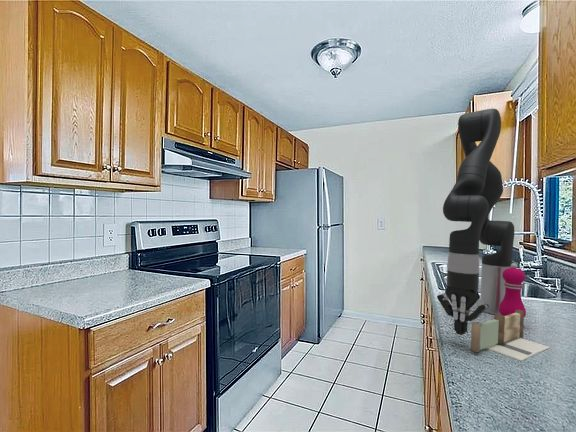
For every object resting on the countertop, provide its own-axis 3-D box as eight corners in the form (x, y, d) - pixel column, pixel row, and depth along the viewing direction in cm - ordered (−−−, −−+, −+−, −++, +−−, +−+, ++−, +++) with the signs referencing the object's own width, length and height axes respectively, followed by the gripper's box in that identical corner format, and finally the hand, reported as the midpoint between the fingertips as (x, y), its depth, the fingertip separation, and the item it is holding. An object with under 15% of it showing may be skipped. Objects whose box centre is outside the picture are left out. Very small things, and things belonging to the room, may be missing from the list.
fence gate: (491, 341, 88) (492, 316, 88) (499, 343, 86) (500, 318, 86) (469, 349, 82) (470, 322, 82) (477, 352, 81) (478, 325, 81)
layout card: (501, 332, 97) (501, 331, 97) (549, 348, 87) (549, 346, 87) (471, 343, 88) (471, 341, 88) (521, 361, 78) (521, 359, 78)
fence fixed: (515, 334, 96) (516, 308, 96) (524, 337, 94) (526, 310, 94) (491, 343, 89) (492, 315, 88) (500, 346, 86) (502, 317, 86)
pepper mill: (517, 330, 99) (520, 265, 99) (493, 322, 106) (495, 262, 105) (530, 327, 103) (532, 264, 102) (506, 319, 109) (508, 260, 109)
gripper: (496, 272, 84) (493, 339, 84) (445, 264, 94) (442, 323, 94) (484, 275, 79) (481, 345, 79) (431, 267, 89) (429, 329, 90)
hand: (460, 333), depth 87 cm, fingers closed
